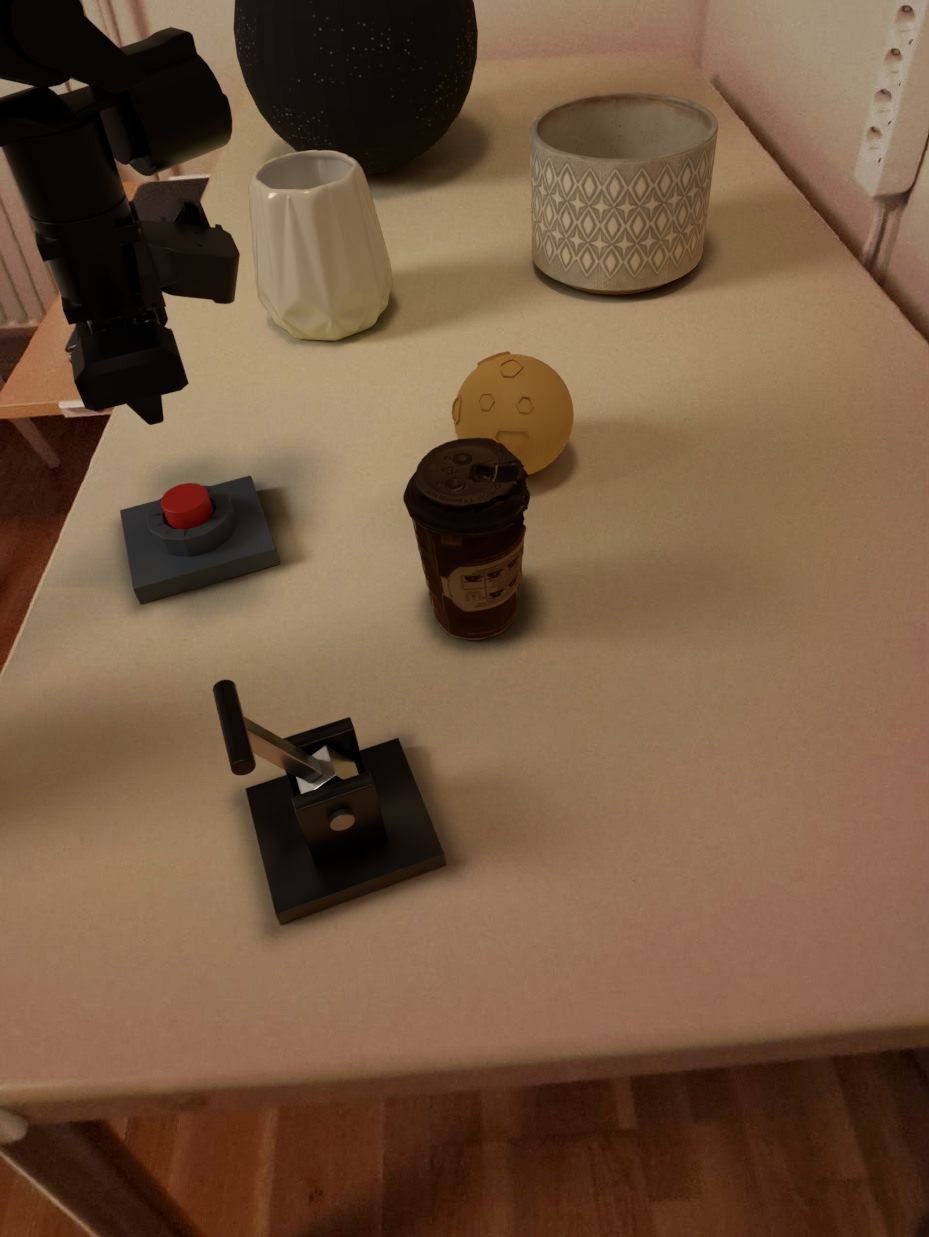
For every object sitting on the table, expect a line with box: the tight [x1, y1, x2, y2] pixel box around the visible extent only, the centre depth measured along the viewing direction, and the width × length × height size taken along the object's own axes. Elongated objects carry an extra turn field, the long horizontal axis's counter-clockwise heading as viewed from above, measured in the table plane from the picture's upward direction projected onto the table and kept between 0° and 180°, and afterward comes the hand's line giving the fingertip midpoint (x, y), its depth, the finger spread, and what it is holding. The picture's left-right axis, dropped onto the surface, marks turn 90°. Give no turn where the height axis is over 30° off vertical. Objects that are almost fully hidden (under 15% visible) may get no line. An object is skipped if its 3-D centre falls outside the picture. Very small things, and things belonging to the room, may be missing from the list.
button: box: [161, 482, 213, 529], centre depth 73 cm, size 4×4×2 cm
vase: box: [248, 150, 394, 342], centre depth 94 cm, size 14×14×15 cm
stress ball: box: [451, 350, 574, 476], centre depth 77 cm, size 10×10×10 cm
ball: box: [233, 0, 479, 175], centre depth 117 cm, size 30×30×30 cm
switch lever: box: [212, 679, 359, 794], centre depth 50 cm, size 10×6×2 cm
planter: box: [529, 91, 719, 296], centre depth 99 cm, size 19×19×14 cm
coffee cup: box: [402, 438, 531, 641], centre depth 64 cm, size 9×8×13 cm
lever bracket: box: [244, 716, 447, 926], centre depth 54 cm, size 10×9×7 cm
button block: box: [119, 474, 281, 605], centre depth 75 cm, size 11×10×4 cm
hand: (156, 421), depth 67 cm, fingers closed
